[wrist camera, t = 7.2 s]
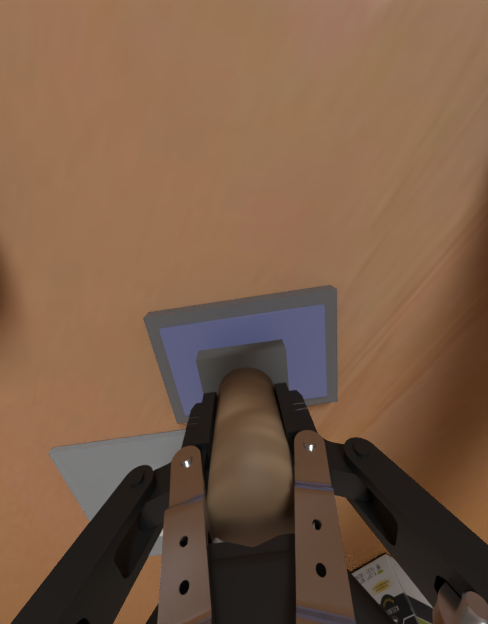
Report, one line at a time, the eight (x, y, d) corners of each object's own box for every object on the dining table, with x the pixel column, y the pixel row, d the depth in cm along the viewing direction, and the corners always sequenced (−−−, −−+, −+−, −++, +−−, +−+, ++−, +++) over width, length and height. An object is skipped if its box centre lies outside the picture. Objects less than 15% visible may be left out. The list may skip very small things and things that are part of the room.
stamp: (281, 339, 15) (330, 451, 7) (287, 406, 16) (331, 552, 9) (198, 350, 15) (159, 473, 7) (213, 416, 17) (195, 569, 9)
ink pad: (330, 285, 17) (338, 289, 16) (331, 392, 20) (339, 403, 19) (149, 312, 17) (141, 319, 16) (180, 413, 21) (176, 426, 19)
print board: (300, 413, 21) (302, 420, 20) (309, 529, 27) (311, 538, 26) (53, 447, 22) (46, 455, 21) (116, 553, 28) (112, 562, 27)
